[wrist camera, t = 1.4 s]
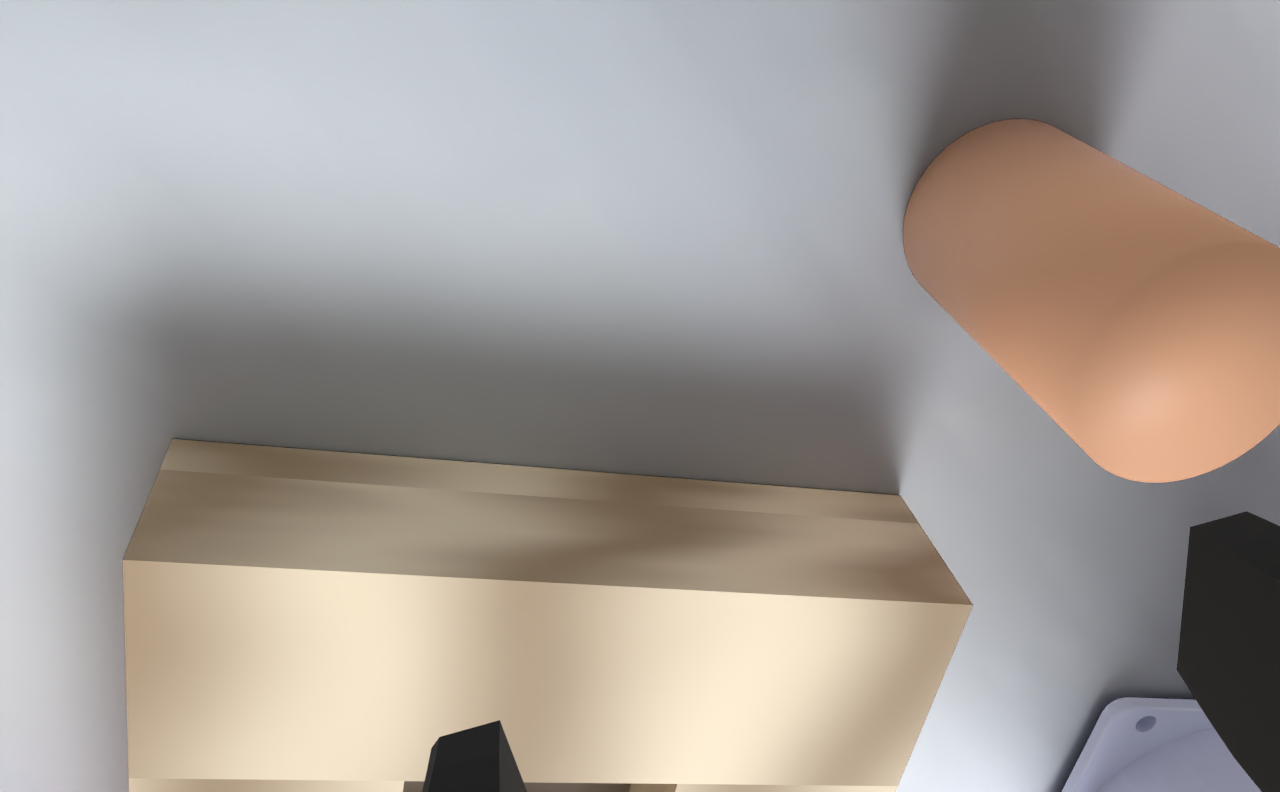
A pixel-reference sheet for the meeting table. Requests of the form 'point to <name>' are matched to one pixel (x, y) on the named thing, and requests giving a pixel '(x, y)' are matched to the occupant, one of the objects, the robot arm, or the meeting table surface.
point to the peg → (1103, 297)
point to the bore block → (522, 626)
